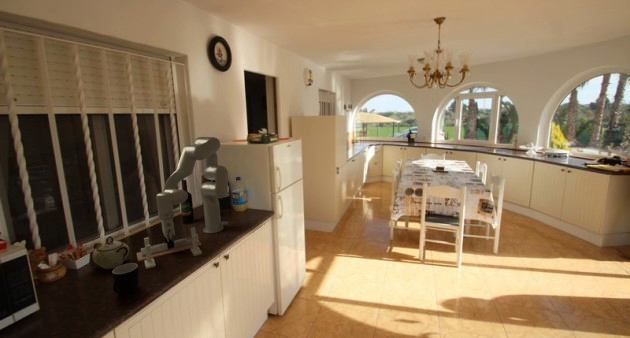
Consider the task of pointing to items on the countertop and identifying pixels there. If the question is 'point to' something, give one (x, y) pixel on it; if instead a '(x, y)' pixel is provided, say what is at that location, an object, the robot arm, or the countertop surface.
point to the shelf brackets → (150, 262)
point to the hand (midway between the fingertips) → (169, 244)
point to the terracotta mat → (167, 251)
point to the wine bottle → (187, 207)
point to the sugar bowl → (110, 253)
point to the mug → (125, 278)
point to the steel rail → (164, 246)
